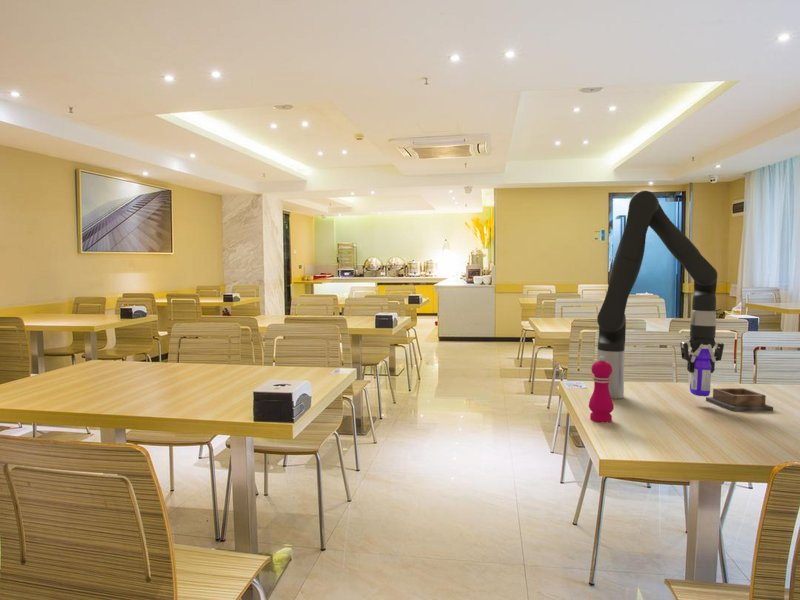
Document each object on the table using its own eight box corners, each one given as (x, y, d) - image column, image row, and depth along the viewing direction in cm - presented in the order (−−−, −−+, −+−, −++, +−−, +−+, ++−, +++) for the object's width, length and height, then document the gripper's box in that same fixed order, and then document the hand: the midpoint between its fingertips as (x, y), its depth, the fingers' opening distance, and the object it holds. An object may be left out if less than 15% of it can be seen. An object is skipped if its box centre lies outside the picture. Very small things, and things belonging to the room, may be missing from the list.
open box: (731, 410, 174) (731, 396, 173) (705, 400, 188) (706, 387, 187) (773, 410, 174) (773, 396, 174) (744, 400, 188) (744, 387, 188)
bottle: (712, 397, 176) (715, 346, 175) (694, 396, 177) (696, 345, 176) (704, 392, 183) (707, 343, 182) (687, 391, 185) (689, 342, 184)
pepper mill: (601, 415, 168) (602, 353, 167) (618, 421, 162) (619, 357, 161) (583, 418, 166) (584, 355, 165) (599, 424, 159) (601, 358, 158)
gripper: (688, 324, 175) (686, 374, 176) (731, 325, 175) (728, 375, 176) (676, 322, 183) (673, 370, 184) (717, 322, 183) (714, 370, 184)
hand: (700, 372), depth 180 cm, fingers closed on bottle, 6 cm apart
